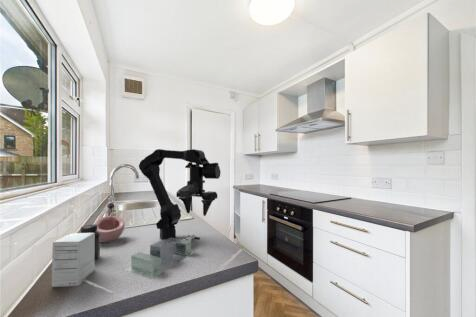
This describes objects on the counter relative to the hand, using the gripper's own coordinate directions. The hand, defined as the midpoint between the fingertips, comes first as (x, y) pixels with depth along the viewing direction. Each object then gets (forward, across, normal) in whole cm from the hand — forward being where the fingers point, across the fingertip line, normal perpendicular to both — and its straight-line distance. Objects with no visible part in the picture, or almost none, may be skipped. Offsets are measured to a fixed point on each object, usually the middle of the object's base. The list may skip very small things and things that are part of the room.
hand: (196, 214), depth 86 cm
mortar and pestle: (+13, -36, -17) cm, 42 cm away
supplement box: (+13, -14, -38) cm, 43 cm away
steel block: (+12, +1, -19) cm, 22 cm away
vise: (+12, +1, -18) cm, 22 cm away
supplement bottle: (+13, -24, -30) cm, 41 cm away
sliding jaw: (+12, 0, -7) cm, 13 cm away
